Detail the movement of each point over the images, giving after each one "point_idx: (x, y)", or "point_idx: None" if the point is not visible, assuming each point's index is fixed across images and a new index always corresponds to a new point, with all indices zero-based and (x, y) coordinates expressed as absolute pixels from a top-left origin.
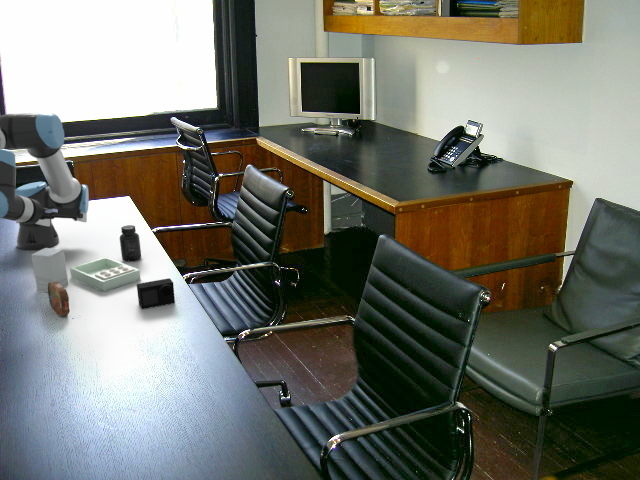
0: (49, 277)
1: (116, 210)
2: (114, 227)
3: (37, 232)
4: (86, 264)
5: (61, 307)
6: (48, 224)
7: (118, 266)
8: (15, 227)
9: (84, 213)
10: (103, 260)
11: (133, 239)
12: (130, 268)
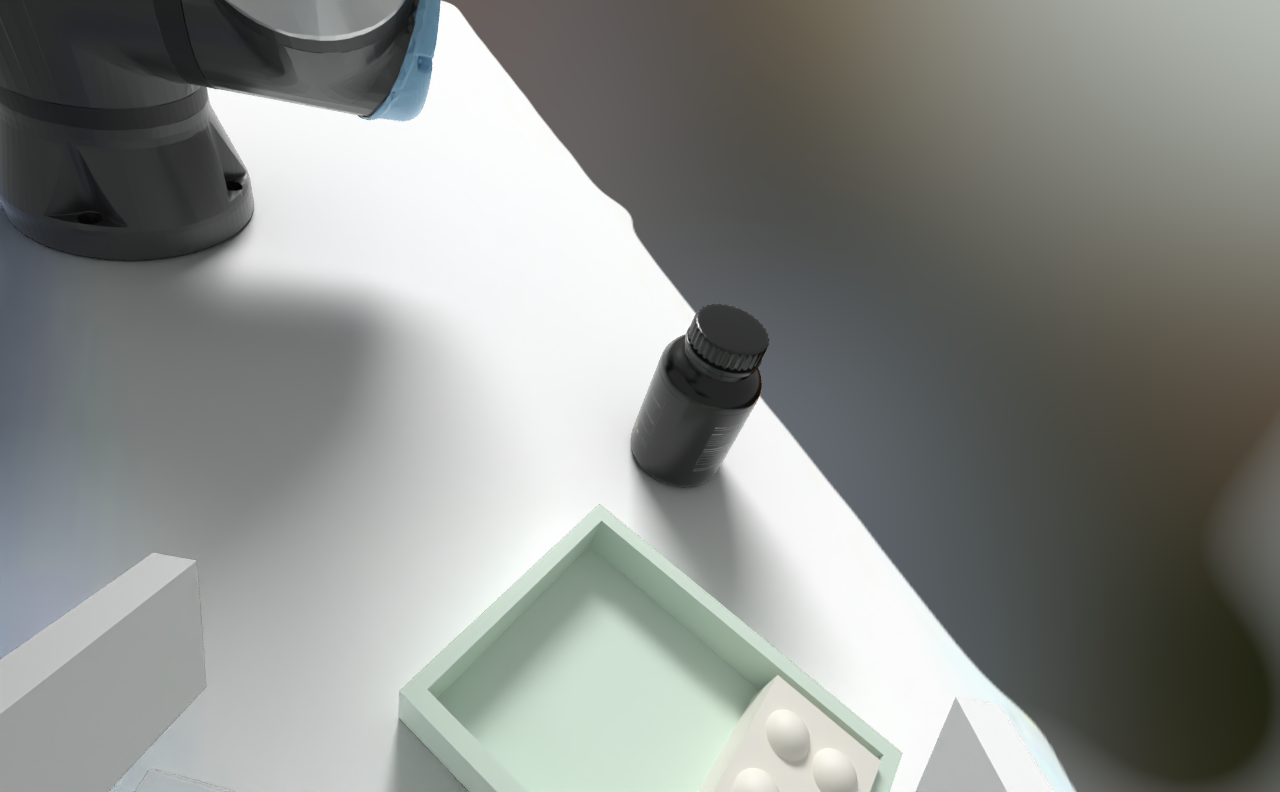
0: None
1: (449, 56)
2: (480, 154)
3: (119, 168)
4: (507, 613)
5: None
6: (171, 697)
7: (779, 733)
8: None
9: (1036, 771)
10: (588, 535)
11: (750, 406)
12: (854, 749)
